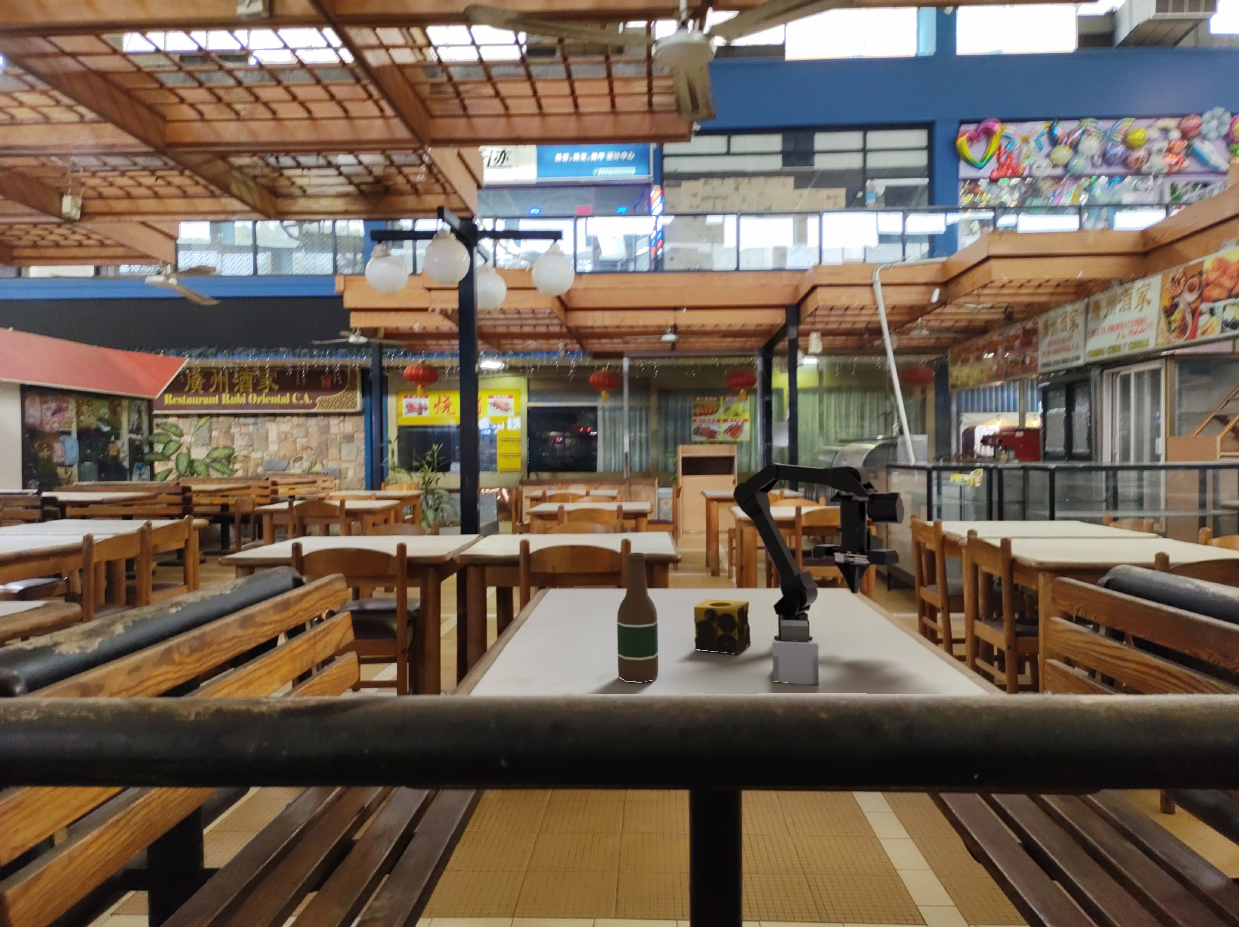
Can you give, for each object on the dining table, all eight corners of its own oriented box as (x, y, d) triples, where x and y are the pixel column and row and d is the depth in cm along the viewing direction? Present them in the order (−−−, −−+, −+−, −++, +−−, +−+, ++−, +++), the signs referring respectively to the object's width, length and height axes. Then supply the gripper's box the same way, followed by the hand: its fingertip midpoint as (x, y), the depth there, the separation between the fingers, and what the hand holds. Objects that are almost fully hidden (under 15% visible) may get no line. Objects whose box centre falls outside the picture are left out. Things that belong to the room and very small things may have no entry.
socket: (773, 669, 143) (773, 630, 143) (816, 670, 141) (815, 631, 141) (773, 682, 134) (772, 641, 134) (818, 684, 132) (818, 642, 132)
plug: (782, 670, 141) (781, 620, 141) (808, 672, 140) (807, 620, 140) (782, 680, 135) (781, 626, 135) (809, 681, 134) (808, 627, 134)
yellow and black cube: (751, 645, 163) (750, 601, 163) (739, 655, 154) (738, 609, 154) (708, 641, 167) (707, 598, 167) (693, 651, 158) (693, 606, 158)
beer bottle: (616, 673, 142) (614, 551, 142) (655, 671, 142) (653, 550, 142) (619, 685, 134) (617, 556, 134) (661, 683, 134) (658, 555, 135)
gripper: (912, 522, 156) (914, 594, 156) (839, 518, 171) (841, 584, 171) (882, 525, 149) (884, 600, 149) (810, 521, 164) (811, 589, 164)
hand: (854, 593), depth 158 cm, fingers closed
